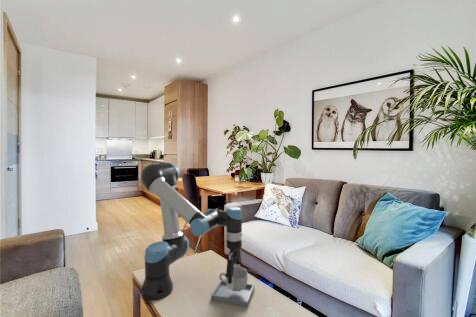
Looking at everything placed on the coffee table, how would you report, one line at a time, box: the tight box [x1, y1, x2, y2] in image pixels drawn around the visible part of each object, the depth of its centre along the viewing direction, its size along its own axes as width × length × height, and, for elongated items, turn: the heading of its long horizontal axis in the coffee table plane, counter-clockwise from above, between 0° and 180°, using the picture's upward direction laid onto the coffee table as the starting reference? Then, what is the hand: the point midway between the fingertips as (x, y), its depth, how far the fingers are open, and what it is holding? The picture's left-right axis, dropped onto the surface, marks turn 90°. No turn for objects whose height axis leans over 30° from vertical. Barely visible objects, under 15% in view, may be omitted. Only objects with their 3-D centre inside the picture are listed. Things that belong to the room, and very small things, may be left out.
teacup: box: [218, 266, 249, 291], centre depth 119 cm, size 14×11×8 cm
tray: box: [210, 278, 255, 308], centre depth 120 cm, size 18×15×2 cm
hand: (234, 282), depth 120 cm, fingers closed on teacup, 11 cm apart
